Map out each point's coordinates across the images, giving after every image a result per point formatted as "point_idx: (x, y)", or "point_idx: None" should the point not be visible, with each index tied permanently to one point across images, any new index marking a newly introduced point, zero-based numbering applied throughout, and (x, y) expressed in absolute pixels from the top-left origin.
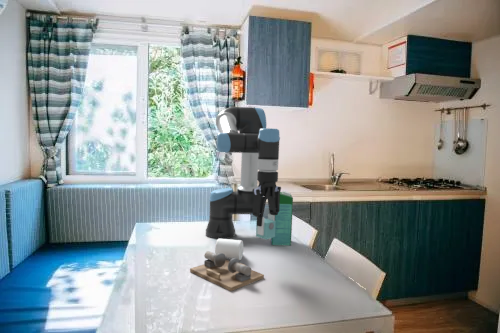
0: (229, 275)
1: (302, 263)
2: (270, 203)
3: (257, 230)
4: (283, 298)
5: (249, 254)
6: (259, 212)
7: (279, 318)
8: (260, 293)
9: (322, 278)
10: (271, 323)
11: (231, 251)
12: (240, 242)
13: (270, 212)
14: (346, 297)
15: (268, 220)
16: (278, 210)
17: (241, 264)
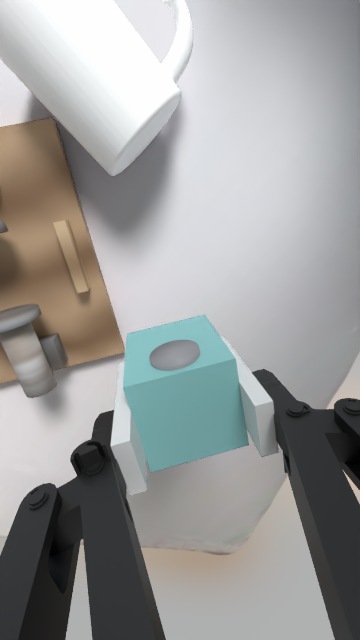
0: (5, 308)
1: (311, 305)
2: (316, 553)
3: (118, 377)
4: None
5: (216, 106)
6: (69, 570)
7: None
8: (59, 422)
9: None
10: None
11: (79, 142)
12: (132, 138)
13: (282, 426)
14: (228, 496)
15: (214, 417)
16: (353, 465)
17: (22, 362)
